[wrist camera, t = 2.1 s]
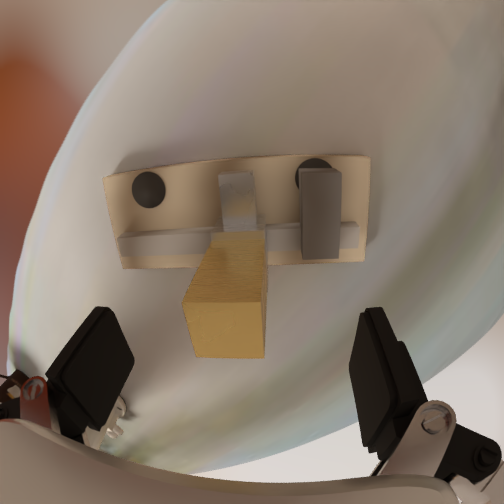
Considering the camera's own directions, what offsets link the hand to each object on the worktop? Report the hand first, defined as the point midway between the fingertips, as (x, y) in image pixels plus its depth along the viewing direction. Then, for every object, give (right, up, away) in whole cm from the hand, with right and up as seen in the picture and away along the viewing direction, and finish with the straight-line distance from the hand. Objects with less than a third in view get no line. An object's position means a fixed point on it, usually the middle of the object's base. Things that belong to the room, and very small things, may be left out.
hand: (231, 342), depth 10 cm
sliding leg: (0, +6, +10) cm, 11 cm away
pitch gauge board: (-1, +6, +11) cm, 13 cm away
